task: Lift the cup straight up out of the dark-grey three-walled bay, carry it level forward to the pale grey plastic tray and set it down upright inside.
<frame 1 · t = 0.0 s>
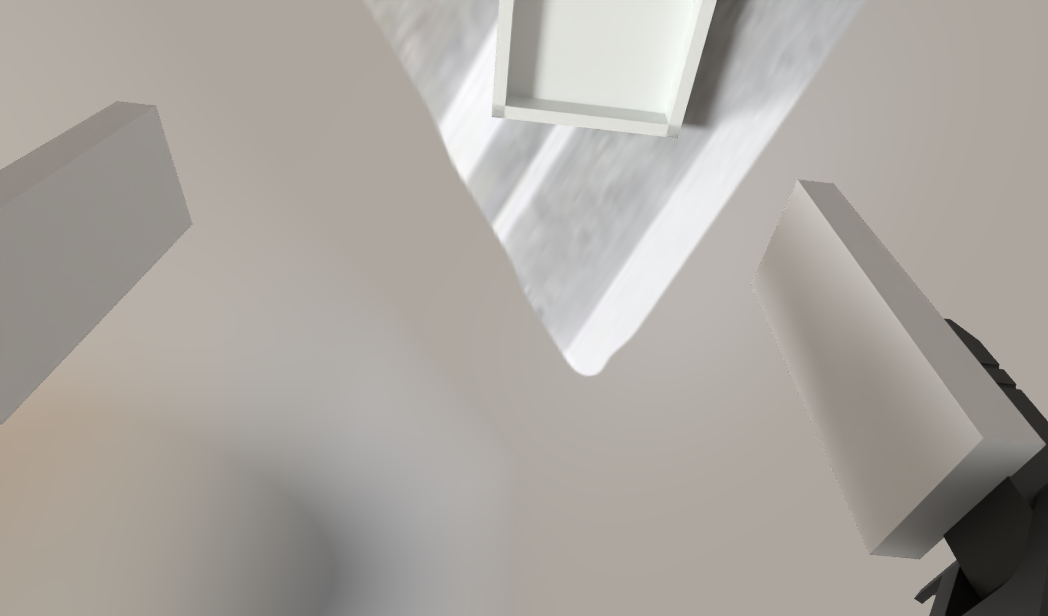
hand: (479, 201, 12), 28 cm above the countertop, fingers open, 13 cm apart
tray: (600, 15, 35), on the countertop
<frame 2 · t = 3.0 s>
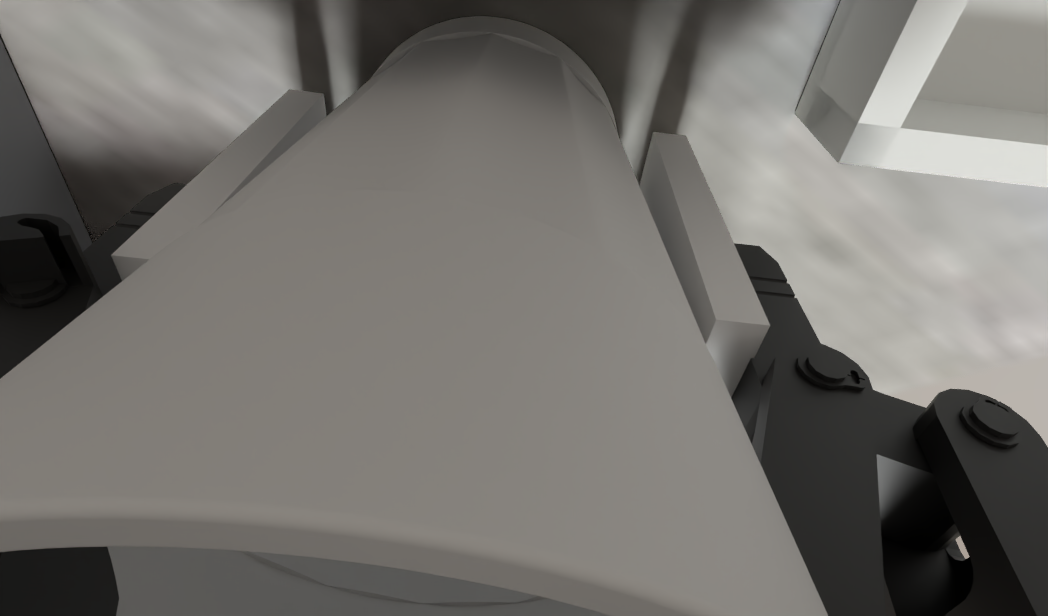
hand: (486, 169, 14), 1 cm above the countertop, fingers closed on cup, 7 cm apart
bay: (488, 157, 14), on the countertop
cup: (489, 154, 14), on the countertop, touching gripper
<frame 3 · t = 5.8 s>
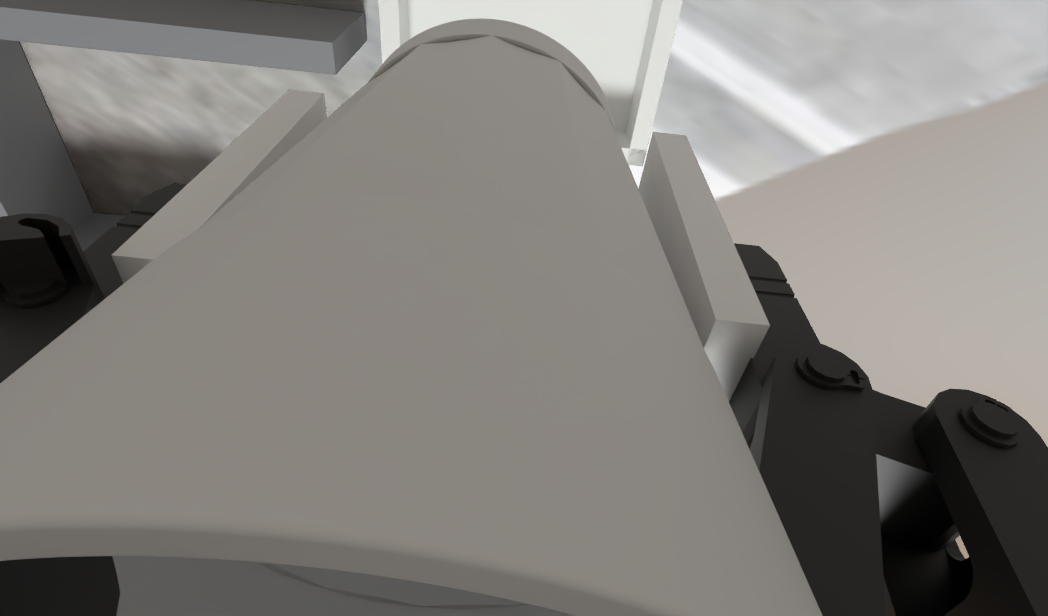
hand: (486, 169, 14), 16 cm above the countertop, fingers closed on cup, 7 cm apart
bay: (267, 141, 30), on the countertop
cup: (488, 155, 14), point 15 cm above the countertop, touching gripper
when the fingers open (3 cm above the countertop, at t = 8.6 s): cup drops 2 cm, resting on tray.
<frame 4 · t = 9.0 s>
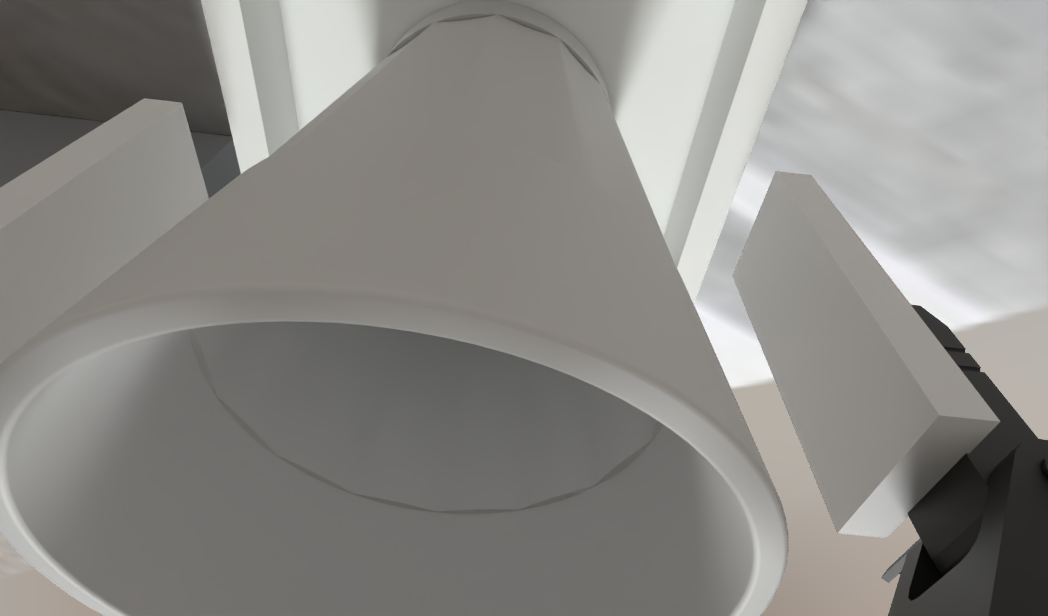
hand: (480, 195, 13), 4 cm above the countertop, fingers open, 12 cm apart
tray: (496, 122, 16), on the countertop
bay: (118, 298, 20), on the countertop
cup: (493, 128, 15), resting on tray
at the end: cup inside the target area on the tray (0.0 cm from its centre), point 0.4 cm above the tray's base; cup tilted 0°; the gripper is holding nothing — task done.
